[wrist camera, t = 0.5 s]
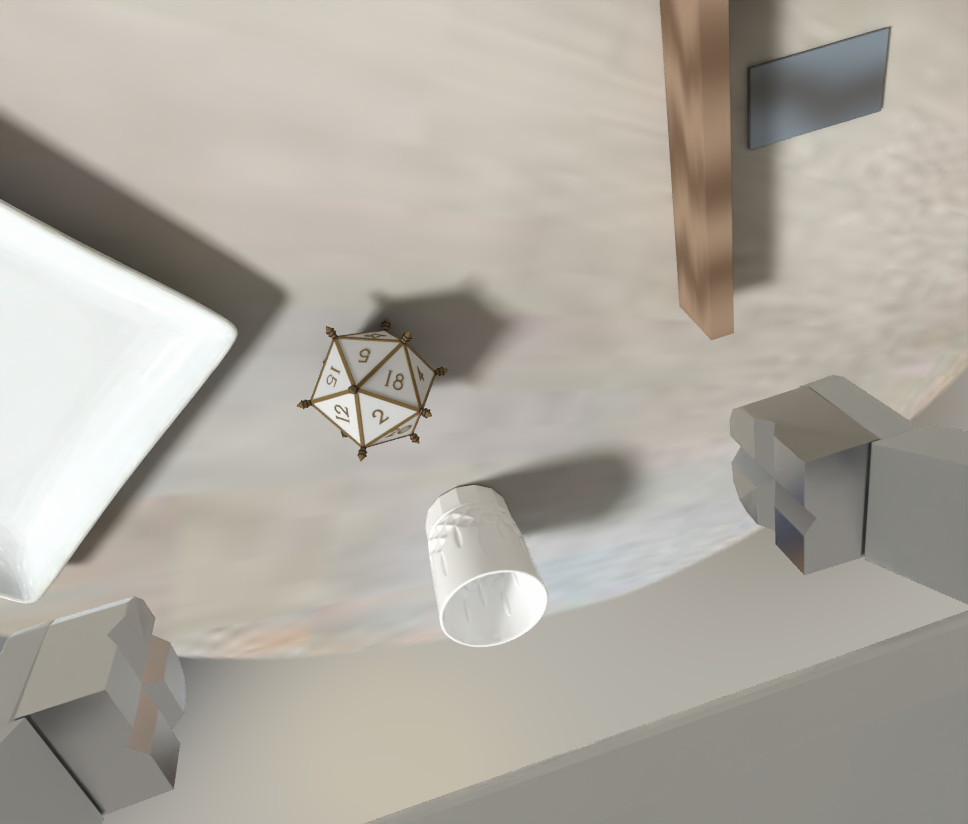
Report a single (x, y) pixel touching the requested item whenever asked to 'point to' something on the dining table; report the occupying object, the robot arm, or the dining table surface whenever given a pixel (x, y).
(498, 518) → the white cup
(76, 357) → the square plate
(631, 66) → the dining table surface
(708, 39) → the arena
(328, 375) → the game die
